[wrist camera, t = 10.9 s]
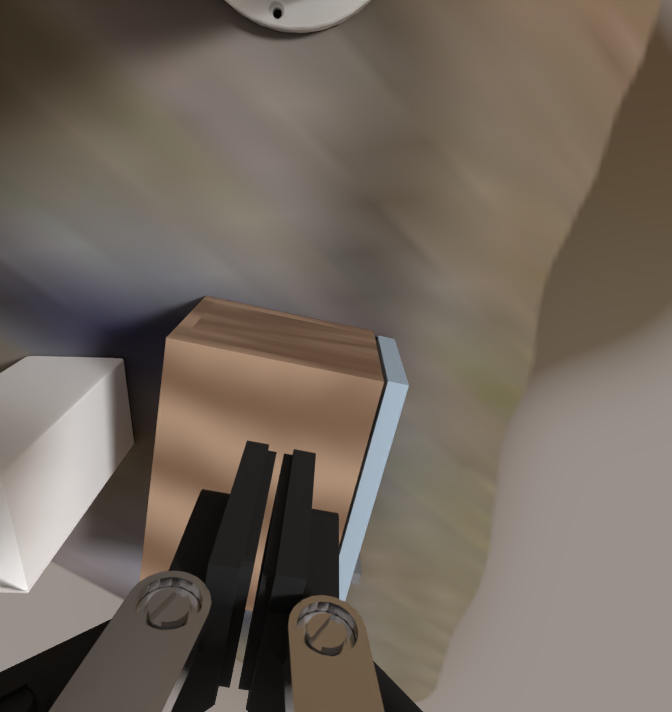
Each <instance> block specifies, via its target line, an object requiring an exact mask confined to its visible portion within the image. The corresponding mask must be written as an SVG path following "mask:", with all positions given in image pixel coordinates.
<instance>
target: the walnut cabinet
mask: <svg viewBox="0 0 672 712" xmlns="http://www.w3.org/2000/svg"><path fill="white" fill-rule="evenodd" d="M383 384H384V379H383V374H382V369H381V364H380V360H379V355H378V350H377V345H376V340H375V335H374V331H371V330H366V329H361V328H357V327H352V326H347V325H342V324H338V323H333V322H328V321H323V320H319V319H314V318H309V317H304V316H300V315H295V314H290V313H285V312H281V311H276V310H271V309H266V308H262V307H257V306H252V305H247V304H243V303H238V302H233V301H228V300H224V299H219V298H214V297H209V296H205V297H204V298H203V299H202V301H201V302H200V303H199V304H198V305H197V306H196V307H195V308H194V309H193V310H192V311H191V312H190V313H189V314H188V315H187V316H186V317H185V318H184V319H183V321H182V322H181V323H180V324H179V325H178V326H177V327H176V328H175V329H174V330H173V331H172V332H171V333H170V334H169V335H168V336H167V337H166V344H165V353H164V362H163V371H162V381H161V390H160V399H159V408H158V418H157V427H156V436H155V445H154V454H153V464H152V473H151V482H150V491H149V500H148V510H147V519H146V528H145V537H144V547H143V556H142V565H141V574H140V581H142V580H143V579H145V578H146V577H148V576H150V575H153V574H156V573H159V572H163V571H168V570H169V568H170V566H171V563H172V561H173V558H174V556H175V553H176V551H177V548H178V546H179V543H180V541H181V538H182V536H183V533H184V531H185V528H186V526H187V523H188V521H189V518H190V516H191V513H192V511H193V508H194V506H195V504H196V501H197V499H198V496H199V494H200V492H201V490H202V489H205V490H211V491H217V492H222V493H228V494H230V493H231V490H232V486H233V483H234V480H235V477H236V474H237V471H238V467H239V464H240V461H241V458H242V455H243V451H244V448H245V445H246V442H247V440H248V441H254V442H259V443H264V444H269V449H268V450H269V451H274V452H277V454H276V459H275V464H274V469H273V474H272V479H271V484H270V489H269V494H268V499H267V504H266V509H265V514H264V519H263V524H262V529H261V534H260V539H259V544H258V549H257V554H256V559H255V564H254V569H253V573H252V578H251V583H250V588H249V593H248V598H247V603H246V608H245V610H250V611H253V607H254V602H255V596H256V591H257V585H258V580H259V575H260V569H261V564H262V558H263V553H264V548H265V543H266V538H267V533H268V528H269V523H270V519H271V514H272V509H273V504H274V499H275V494H276V489H277V485H278V480H279V475H280V470H281V465H282V460H283V456H284V453H285V454H290V455H292V454H293V450H294V449H297V450H302V451H307V452H313V453H316V460H315V474H314V487H313V501H312V509H318V510H323V511H329V512H335V513H338V514H339V544H340V541H341V537H342V533H343V530H344V526H345V522H346V519H347V515H348V512H349V508H350V504H351V501H352V497H353V493H354V490H355V486H356V482H357V479H358V475H359V472H360V468H361V464H362V461H363V457H364V453H365V450H366V446H367V442H368V439H369V435H370V432H371V428H372V424H373V421H374V417H375V413H376V410H377V406H378V403H379V399H380V395H381V392H382V388H383Z"/></svg>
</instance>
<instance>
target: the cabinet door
mask: <svg viewBox="0 0 672 712" xmlns="http://www.w3.org/2000/svg"><path fill="white" fill-rule="evenodd" d="M376 345H377V350H378V355H379V360H380V364H381V369H382V374H383V379H384V384H383V388H382V392H381V395H380V399H379V403H378V406H377V410H376V413H375V417H374V421H373V424H372V428H371V432H370V435H369V439H368V442H367V446H366V450H365V453H364V457H363V461H362V464H361V468H360V472H359V475H358V479H357V482H356V486H355V490H354V493H353V497H352V501H351V504H350V508H349V512H348V515H347V519H346V522H345V526H344V530H343V533H342V537H341V541H340V544H339V599H340V600H342V601H345V599H346V596H347V593H348V589H349V586H350V584H355V585H358V583H359V580H360V577H361V561H360V549H361V545H362V542H363V539H364V535H365V532H366V528H367V525H368V522H369V518H370V515H371V512H372V508H373V505H374V501H375V498H376V495H377V491H378V488H379V484H380V481H381V478H382V474H383V471H384V468H385V464H386V461H387V457H388V454H389V451H390V447H391V444H392V441H393V437H394V434H395V430H396V427H397V424H398V420H399V417H400V413H401V410H402V407H403V403H404V400H405V397H406V393H407V390H408V386H409V384H408V381H407V378H406V375H405V372H404V368H403V365H402V362H401V359H400V355H399V352H398V349H397V346H396V342H395V339H392V338H387V337H383V336H378V337H377V341H376Z"/></svg>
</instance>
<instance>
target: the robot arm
mask: <svg viewBox="0 0 672 712" xmlns="http://www.w3.org/2000/svg"><path fill="white" fill-rule="evenodd" d="M224 1H225V2H227V3H228V4H229V5H230V6H231V7H233V8H234V9H235V10H236V11H237V12H239V13H240V14H241V15H243V16H244V17H246V18H248V19H250V20H252V21H254V22H255V23H257V24H259V25H261V26H264V27H267V28H271V29H274V30H277V31H280V32H292V33H307V32H314V31H322V30H324V29H327V28H330V27H332V26H335V25H338V24H341V23H342V22H344V21H346V20H347V19H349V18H350V17H352V16H354V15H355V14H357V13H358V12H360V11H361V10H362V9H363V8H364V7H365V6H366V5H367V4H368V3H369V2H370V1H371V0H224ZM276 10H280V11H282V16H281V17H280V18H279V19H276V18H275V17H274V11H276ZM268 449H269V444H264V443H259V442H254V441H248V440H247V442H246V445H245V448H244V451H243V455H242V458H241V461H240V464H239V467H238V471H237V474H236V477H235V480H234V483H233V486H232V490H231V493H230V494H228V493H222V492H217V491H211V490H205V489H202V490H201V492H200V494H199V496H198V499H197V501H196V504H195V506H194V508H193V511H192V513H191V516H190V518H189V521H188V523H187V526H186V528H185V531H184V533H183V536H182V538H181V541H180V543H179V546H178V548H177V551H176V553H175V556H174V558H173V561H172V563H171V566H170V568H169V570H168V571H163V572H159V573H156V574H153V575H150V576H148V577H146V578H145V579H143V580H142V581H140V582H139V583H138V584H137V585H136V586H135V587H134V588H133V589H132V590H131V591H130V593H129V594H128V596H127V597H126V599H125V600H124V602H123V603H122V605H121V606H120V608H119V609H118V611H117V612H116V614H115V615H114V616H113V618H112V619H110V620H108V621H106V622H104V623H102V624H100V625H98V626H96V627H94V628H92V629H90V630H88V631H85V632H83V633H81V634H79V635H77V636H75V637H73V638H71V639H69V640H67V641H65V642H63V643H60V644H58V645H56V646H54V647H52V648H50V649H48V650H46V651H44V652H42V653H39V654H37V655H36V656H33V657H31V658H29V659H27V660H25V661H23V662H21V663H19V664H16V665H15V666H12V667H10V668H8V669H6V670H4V671H2V672H0V712H205V711H206V710H208V709H209V708H211V707H212V706H213V705H215V700H216V696H217V692H218V687H219V686H223V687H230V682H231V678H232V673H233V667H234V663H235V658H236V653H237V648H238V643H239V638H240V633H241V628H242V623H243V618H244V613H245V608H246V603H247V598H248V593H249V588H250V583H251V578H252V573H253V569H254V564H255V559H256V554H257V549H258V544H259V539H260V534H261V529H262V524H263V519H264V514H265V509H266V504H267V499H268V494H269V489H270V484H271V479H272V474H273V469H274V464H275V459H276V454H277V452H274V451H269V450H268ZM315 460H316V453H313V452H307V451H302V450H297V449H294V450H293V454H292V455H290V454H285V453H284V456H283V460H282V465H281V470H280V475H279V480H278V485H277V489H276V494H275V499H274V504H273V509H272V514H271V519H270V523H269V528H268V533H267V538H266V543H265V548H264V553H263V558H262V564H261V569H260V575H259V580H258V585H257V591H256V596H255V602H254V607H253V612H252V618H251V623H250V629H249V634H248V639H247V645H246V650H245V656H244V661H243V667H242V672H241V677H240V683H239V689H243V690H249V694H248V699H247V705H246V710H247V711H248V712H423V711H421V709H420V708H419V707H418V706H417V705H416V704H415V703H414V702H413V701H412V700H411V699H410V698H409V697H408V696H407V695H406V694H405V693H404V692H403V691H402V690H401V689H400V688H399V687H398V686H397V685H396V684H395V683H394V682H393V681H392V680H391V679H390V678H389V676H388V675H387V674H386V673H385V672H384V671H383V670H382V669H381V668H380V667H379V666H378V665H377V664H376V663H375V662H374V661H373V658H372V653H371V649H370V644H369V640H368V635H367V631H366V627H365V625H364V622H363V620H362V618H361V616H360V615H359V614H358V613H357V611H356V610H355V609H354V608H353V607H351V606H350V605H349V604H347V603H346V602H345V601H342V600H340V599H339V514H338V513H335V512H329V511H323V510H318V509H312V501H313V487H314V474H315Z"/></svg>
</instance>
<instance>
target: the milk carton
mask: <svg viewBox="0 0 672 712" xmlns="http://www.w3.org/2000/svg"><path fill="white" fill-rule="evenodd" d="M133 444H134V438H133V430H132V422H131V414H130V407H129V399H128V391H127V383H126V375H125V367H124V360H123V359H121V358H95V357H56V356H27V357H25V358H23V359H22V360H20V361H18V362H17V363H15V364H14V365H12V366H11V367H9V368H8V369H6V370H4V371H3V372H1V373H0V592H7V593H9V592H10V593H28V592H29V591H30V589H31V588H32V586H33V585H34V584H35V582H36V581H37V579H38V578H39V576H40V575H41V574H42V572H43V571H44V569H45V568H46V567H47V565H48V564H49V563H50V561H51V560H52V558H53V557H54V556H55V554H56V553H57V551H58V550H59V548H60V547H61V546H62V544H63V543H64V541H65V540H66V539H67V537H68V536H69V534H70V533H71V532H72V530H73V529H74V527H75V526H76V525H77V523H78V522H79V520H80V519H81V518H82V516H83V515H84V513H85V512H86V511H87V509H88V508H89V506H90V505H91V504H92V502H93V501H94V499H95V498H96V496H97V495H98V494H99V492H100V491H101V489H102V488H103V487H104V485H105V484H106V482H107V481H108V480H109V478H110V477H111V475H112V474H113V473H114V471H115V470H116V468H117V467H118V466H119V464H120V463H121V461H122V460H123V459H124V457H125V456H126V454H127V453H128V452H129V450H130V449H131V447H132V446H133Z"/></svg>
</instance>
